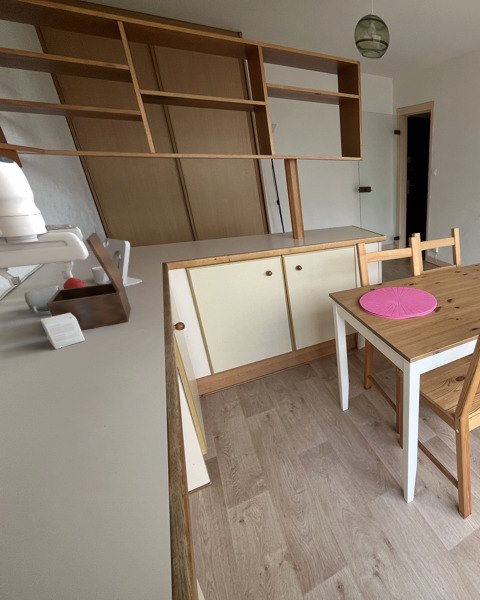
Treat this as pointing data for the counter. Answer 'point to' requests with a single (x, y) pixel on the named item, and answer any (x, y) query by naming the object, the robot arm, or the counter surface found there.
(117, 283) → the lid
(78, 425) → the counter surface
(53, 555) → the counter surface
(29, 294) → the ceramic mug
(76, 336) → the white slanted block
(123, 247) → the phone holder
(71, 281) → the onion
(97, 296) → the storage box
